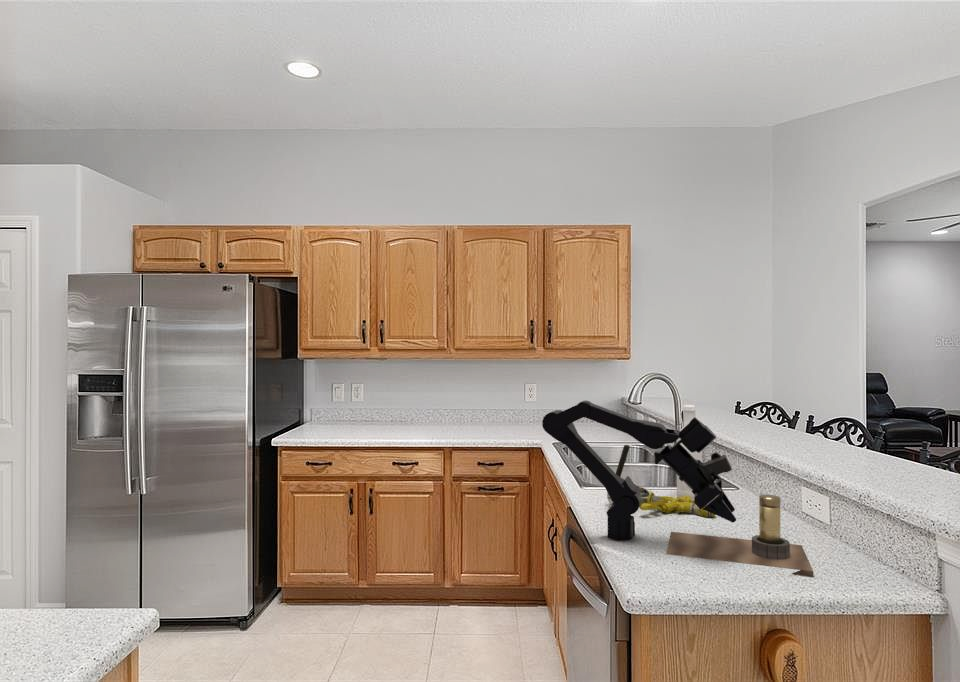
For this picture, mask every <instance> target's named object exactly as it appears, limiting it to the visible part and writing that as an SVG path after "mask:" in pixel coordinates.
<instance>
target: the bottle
mask: <svg viewBox="0 0 960 682" xmlns="http://www.w3.org/2000/svg"><path fill="white" fill-rule="evenodd" d="M682 411H683V426H682V427H681V429H680V430H679V431H681V430H682V429H683V428H684V427H685V426H686V425H688V424H689V422H690V421H691V420H692V419H693V418H694V417H696V411H697V409H696V406H695V405H694V404H685V405H683V409H682ZM679 440H680V438H679V439H678V440H676V443H677V442H678V441H679ZM680 444H681V445H682V446H683V447H684V448H685V449H686V450H687V451H688V452H689V453H690V454H691V455H692V456H693V458H695V459H696V460H700V461H701V462H702V463H703V450H702V451H701V452H700V453H698V452H696V451H695V452H693V453H692V452H690V451H689V450H688V449H687V448H686V447H685V446H684V445H683V444H682V443H680ZM686 495H689V496H690V499H692V500H694V496H695V495H694V494H693V493H692V489H691V488H690V487H689V486H688V485H687V484H686V483H685V482H684V481H681V480H680V479H679V476H678V475H677V474H676V497H683V496H684V497H686Z"/></svg>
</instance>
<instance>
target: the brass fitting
mask: <svg viewBox="0 0 960 682" xmlns="http://www.w3.org/2000/svg"><path fill="white" fill-rule="evenodd" d="M758 499H759V501H758V502H759V504H758V506H759V507H758V508H759V510H758V512H759V513H758V515H759V516H758V519H759V520H758V521H759V523H758V524H759V526H758V527H759V530H758V532H759V533H758V535H759V541H760V542H763V543H767V544H774V545H778V544H780V538H781V497H780V496H778V495H773V494H760V495H759V497H758Z"/></svg>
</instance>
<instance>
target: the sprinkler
mask: <svg viewBox="0 0 960 682" xmlns="http://www.w3.org/2000/svg"><path fill="white" fill-rule="evenodd" d="M652 492H653V491H652ZM652 492H651V493H650V494H649V496H648V498H647V499H646V500H647V503H644V504H642V505H641V506H639V510H641V511H651V510H659V511H660V512H661V513H665V514H671V513H673V514H674V513H675V514H680V513H681V512H683V513H689V514H693V515H696V516H700V517H704V518H705V517H706V518H715V517H716V515H715V514H713V513H710V512H708V511H706V510H703V509H700V508H699V507H698V506H697V505H696V504H695V503H694V500H692V499H690V496H689V495H686V497H684V496H683V497H677V496H676V497H673V496H668V495H667V496H666V495H665V496H664V495H662V496H661V495H655V493H654V492H653V493H652Z"/></svg>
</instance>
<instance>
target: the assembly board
mask: <svg viewBox="0 0 960 682" xmlns="http://www.w3.org/2000/svg"><path fill="white" fill-rule="evenodd" d="M668 540H669V541H668V545H667V549H666V553H665V554H666V555H671V556H676V557H677V556H678V557H687V558H695V559H697V558H698V559H703V560H713V561H721V562H728V563H729V562H730V563H739V564H746V565H755V566H762V567H772V568H780V569H781V568H782V569H790V570H798V571H795V572H792V573H791V575H793V574H794V575H795V576H804V577H811V578H812V577H813V578H814V570H813V567H812V565H811V563H810V561H809V559H808V557H807V554H806V552H805V550H804V548H803V545H801V544H793V543H792V544H791V543H790V541H789V540H788V539H786V538H783V537H780V544H778V545H774V544H767V543H763V542H760V541H759V534H756V535H753V536H751V539H746V538H737V537H736V538H735V537H727V536H725V537H724V536H719V535H718V536H716V535H708V534H697V533H689V532H688V533H687V532H680V531H679V532H678V531H677V532H675V531H670V534H669V539H668Z"/></svg>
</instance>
